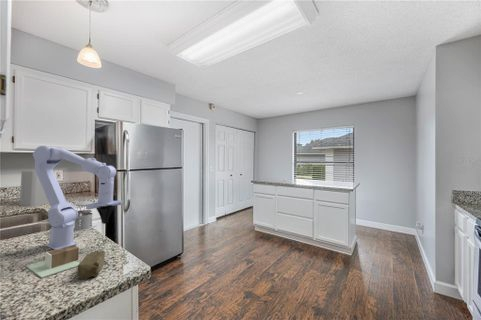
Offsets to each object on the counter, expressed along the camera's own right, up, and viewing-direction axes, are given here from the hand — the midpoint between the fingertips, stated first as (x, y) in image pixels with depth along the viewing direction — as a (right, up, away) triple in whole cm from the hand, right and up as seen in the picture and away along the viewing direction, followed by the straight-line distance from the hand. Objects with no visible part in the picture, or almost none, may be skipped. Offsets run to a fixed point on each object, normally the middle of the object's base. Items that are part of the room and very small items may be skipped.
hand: (104, 223), depth 96 cm
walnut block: (-2, -7, -15) cm, 16 cm away
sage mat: (-5, -9, -20) cm, 23 cm away
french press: (-27, -10, +23) cm, 36 cm away
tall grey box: (-110, -9, +83) cm, 138 cm away
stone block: (+10, -10, -23) cm, 27 cm away
